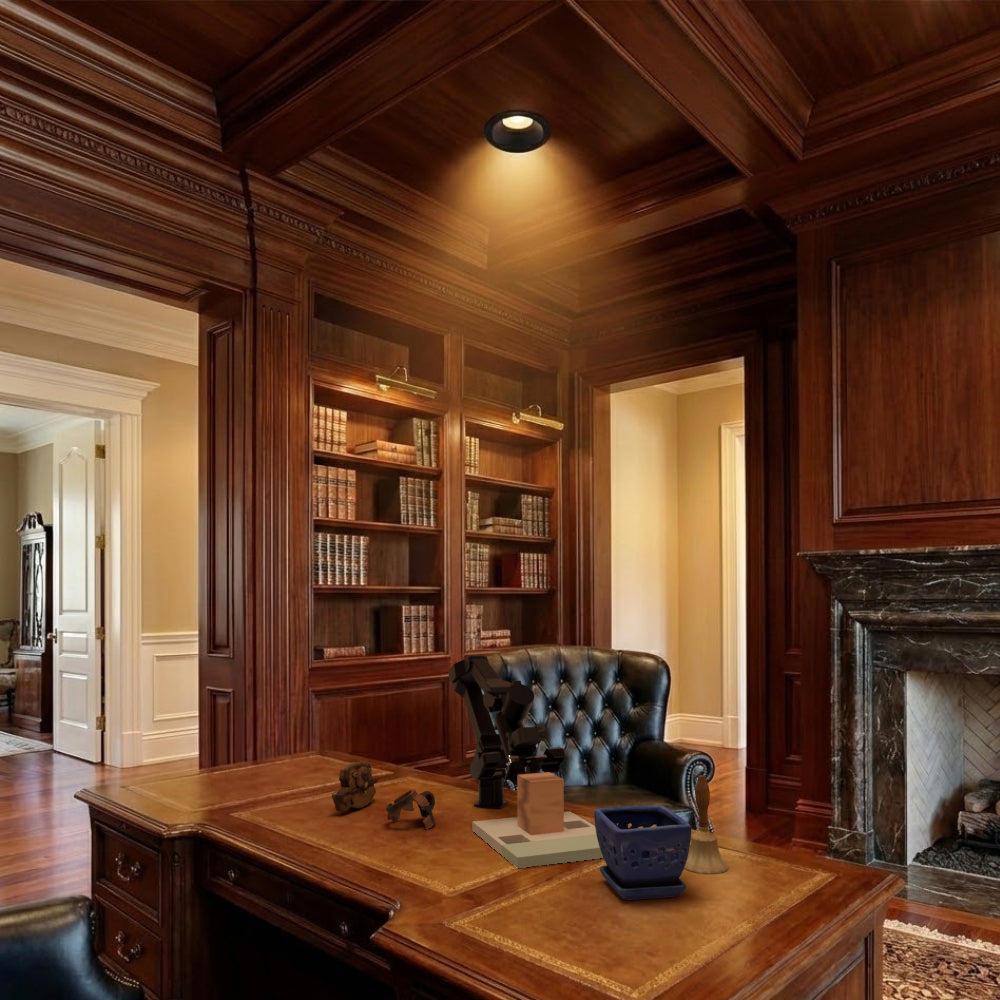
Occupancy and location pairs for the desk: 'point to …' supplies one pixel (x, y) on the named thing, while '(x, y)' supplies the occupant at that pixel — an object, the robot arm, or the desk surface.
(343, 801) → the wooden carving
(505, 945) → the desk surface
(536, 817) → the terracotta block
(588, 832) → the plate
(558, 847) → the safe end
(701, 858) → the hand bell
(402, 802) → the brown arched piece
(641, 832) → the flower pot
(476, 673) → the robot arm
